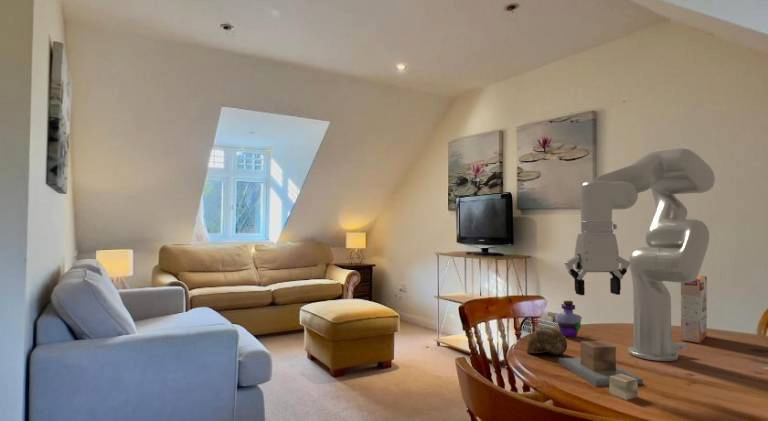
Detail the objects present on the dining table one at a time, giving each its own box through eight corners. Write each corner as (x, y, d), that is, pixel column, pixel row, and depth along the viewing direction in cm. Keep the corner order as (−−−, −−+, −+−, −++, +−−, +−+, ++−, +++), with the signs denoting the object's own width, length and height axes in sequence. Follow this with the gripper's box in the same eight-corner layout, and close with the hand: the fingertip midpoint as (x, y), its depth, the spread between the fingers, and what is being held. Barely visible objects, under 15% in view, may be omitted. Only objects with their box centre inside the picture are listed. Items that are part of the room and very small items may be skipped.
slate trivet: (599, 361, 126) (599, 356, 126) (642, 384, 108) (642, 378, 108) (558, 362, 124) (558, 357, 124) (595, 385, 106) (595, 380, 106)
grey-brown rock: (570, 353, 133) (570, 326, 133) (562, 361, 125) (562, 332, 126) (532, 347, 140) (532, 321, 140) (522, 354, 132) (522, 327, 132)
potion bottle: (579, 340, 148) (579, 304, 148) (552, 336, 153) (552, 301, 153) (584, 335, 155) (583, 300, 156) (558, 331, 160) (557, 297, 160)
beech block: (621, 391, 103) (621, 373, 104) (637, 397, 100) (637, 379, 100) (609, 394, 102) (609, 376, 102) (625, 400, 98) (625, 381, 98)
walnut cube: (601, 363, 119) (601, 340, 120) (615, 370, 113) (615, 346, 114) (580, 364, 119) (580, 341, 119) (593, 371, 113) (593, 347, 113)
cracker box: (702, 344, 144) (701, 279, 145) (680, 340, 148) (679, 277, 149) (708, 336, 154) (707, 275, 155) (687, 333, 158) (686, 274, 159)
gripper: (619, 228, 122) (619, 291, 121) (558, 228, 120) (558, 292, 120) (637, 228, 114) (638, 296, 114) (572, 228, 112) (573, 297, 112)
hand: (597, 294), depth 117 cm, fingers open, 9 cm apart
